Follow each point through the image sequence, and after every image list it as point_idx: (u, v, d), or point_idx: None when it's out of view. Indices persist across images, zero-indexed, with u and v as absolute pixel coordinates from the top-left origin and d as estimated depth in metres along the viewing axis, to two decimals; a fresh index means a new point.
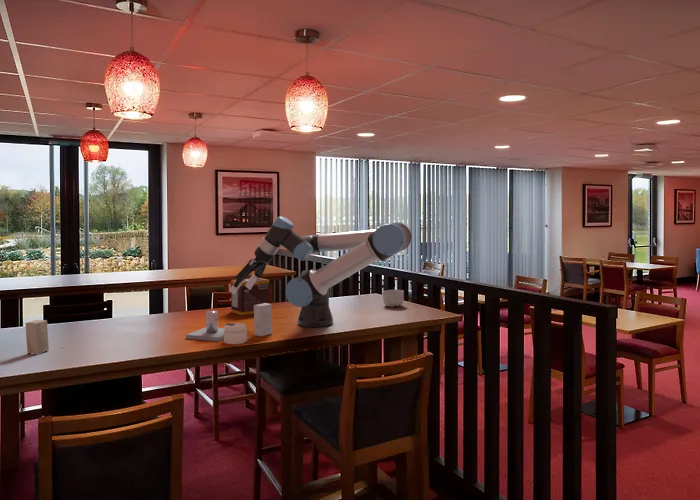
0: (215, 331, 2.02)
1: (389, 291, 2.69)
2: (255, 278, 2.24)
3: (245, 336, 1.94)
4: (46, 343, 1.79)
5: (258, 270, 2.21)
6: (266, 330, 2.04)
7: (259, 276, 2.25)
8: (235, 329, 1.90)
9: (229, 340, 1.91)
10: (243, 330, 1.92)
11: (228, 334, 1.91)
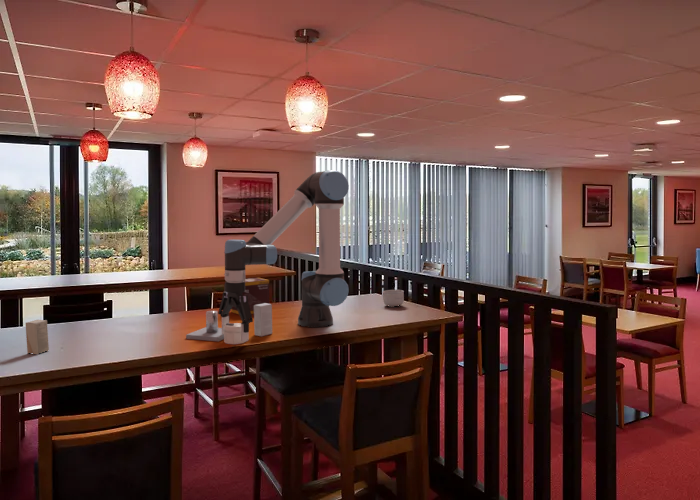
0: (215, 331, 2.02)
1: (389, 291, 2.69)
2: (227, 318, 1.99)
3: None
4: (46, 343, 1.79)
5: (230, 308, 1.97)
6: (266, 330, 2.04)
7: None
8: (235, 329, 1.90)
9: (229, 340, 1.91)
10: None
11: (228, 334, 1.91)
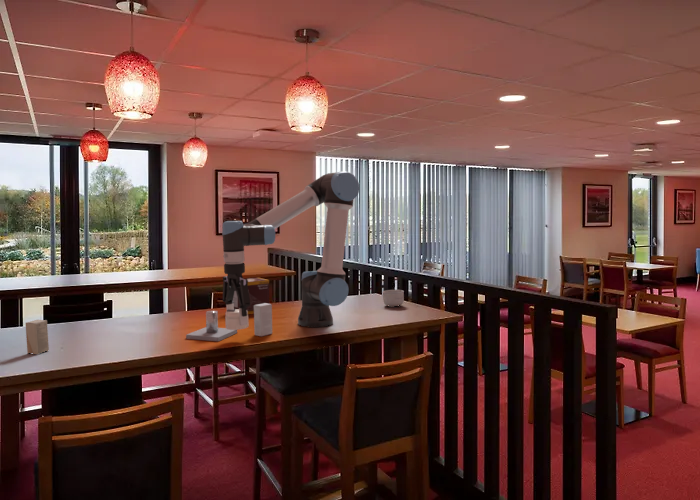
0: (215, 331, 2.02)
1: (389, 291, 2.69)
2: (232, 305, 1.97)
3: (247, 321, 1.94)
4: (46, 343, 1.79)
5: (232, 292, 1.96)
6: (266, 330, 2.04)
7: (231, 301, 1.99)
8: (237, 315, 1.90)
9: (231, 326, 1.91)
10: None
11: (230, 320, 1.91)
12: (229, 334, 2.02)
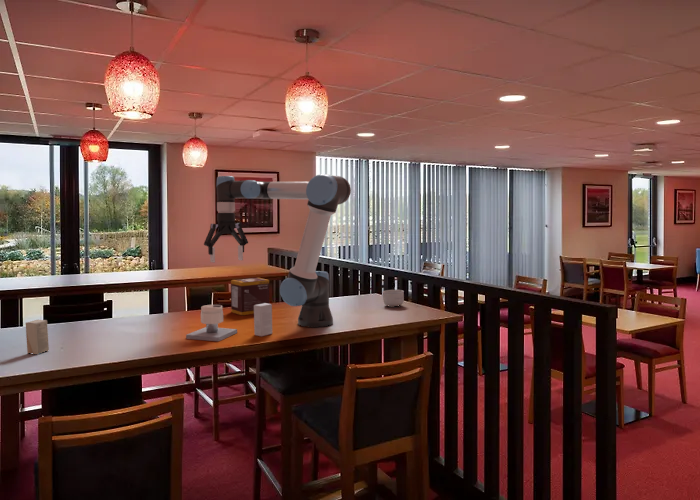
0: (215, 331, 2.02)
1: (389, 291, 2.69)
2: (240, 247, 2.29)
3: None
4: (46, 343, 1.79)
5: (235, 237, 2.28)
6: (266, 330, 2.04)
7: (243, 244, 2.30)
8: None
9: None
10: None
11: None
12: (229, 334, 2.02)
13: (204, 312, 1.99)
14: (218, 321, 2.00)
